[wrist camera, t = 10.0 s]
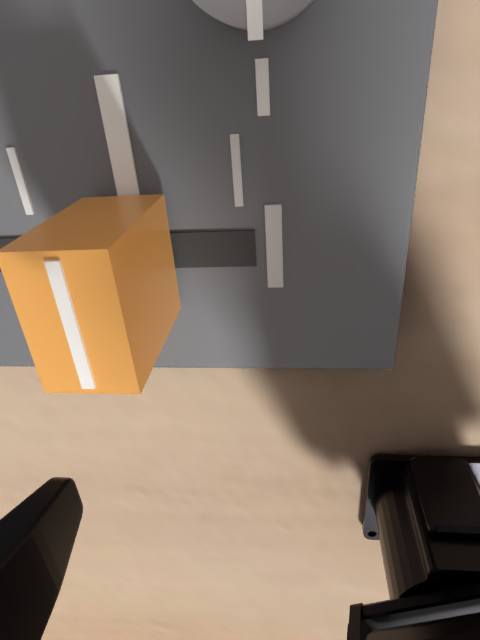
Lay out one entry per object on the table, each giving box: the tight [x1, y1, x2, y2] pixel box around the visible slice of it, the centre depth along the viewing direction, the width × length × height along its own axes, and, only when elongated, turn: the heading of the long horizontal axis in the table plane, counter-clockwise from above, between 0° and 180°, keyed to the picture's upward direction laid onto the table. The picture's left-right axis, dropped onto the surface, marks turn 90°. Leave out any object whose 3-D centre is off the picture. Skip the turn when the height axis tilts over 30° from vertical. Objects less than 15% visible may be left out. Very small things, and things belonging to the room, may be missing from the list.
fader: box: [0, 194, 181, 394], centre depth 15 cm, size 4×3×6 cm, turn 4°
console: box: [0, 0, 438, 369], centre depth 16 cm, size 18×26×4 cm
